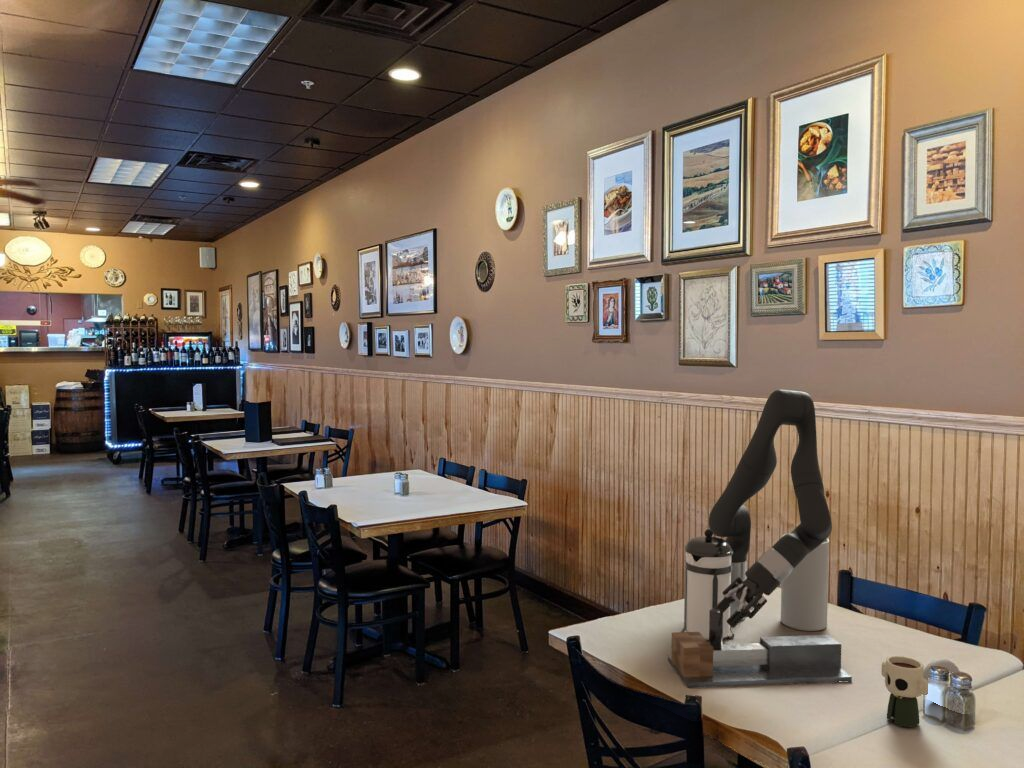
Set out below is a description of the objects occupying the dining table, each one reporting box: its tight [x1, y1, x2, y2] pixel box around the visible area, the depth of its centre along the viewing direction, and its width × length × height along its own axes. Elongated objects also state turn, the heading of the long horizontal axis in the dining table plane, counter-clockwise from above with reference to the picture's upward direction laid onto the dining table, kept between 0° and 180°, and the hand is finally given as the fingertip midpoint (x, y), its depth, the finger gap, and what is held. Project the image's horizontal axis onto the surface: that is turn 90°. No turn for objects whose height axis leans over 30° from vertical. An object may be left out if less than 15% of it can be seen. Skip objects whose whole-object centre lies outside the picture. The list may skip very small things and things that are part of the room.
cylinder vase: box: [780, 533, 830, 632], centre depth 219 cm, size 12×12×25 cm
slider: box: [708, 609, 769, 666], centre depth 186 cm, size 4×24×13 cm, turn 96°
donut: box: [923, 658, 961, 681], centre depth 170 cm, size 10×4×10 cm, turn 107°
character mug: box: [881, 655, 928, 728], centre depth 161 cm, size 11×7×13 cm, turn 24°
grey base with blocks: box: [667, 634, 853, 689], centre depth 187 cm, size 16×40×7 cm, turn 96°
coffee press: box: [680, 528, 735, 641], centre depth 209 cm, size 17×16×30 cm
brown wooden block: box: [670, 631, 713, 677], centre depth 185 cm, size 10×7×7 cm
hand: (722, 618), depth 186 cm, fingers open, 8 cm apart
